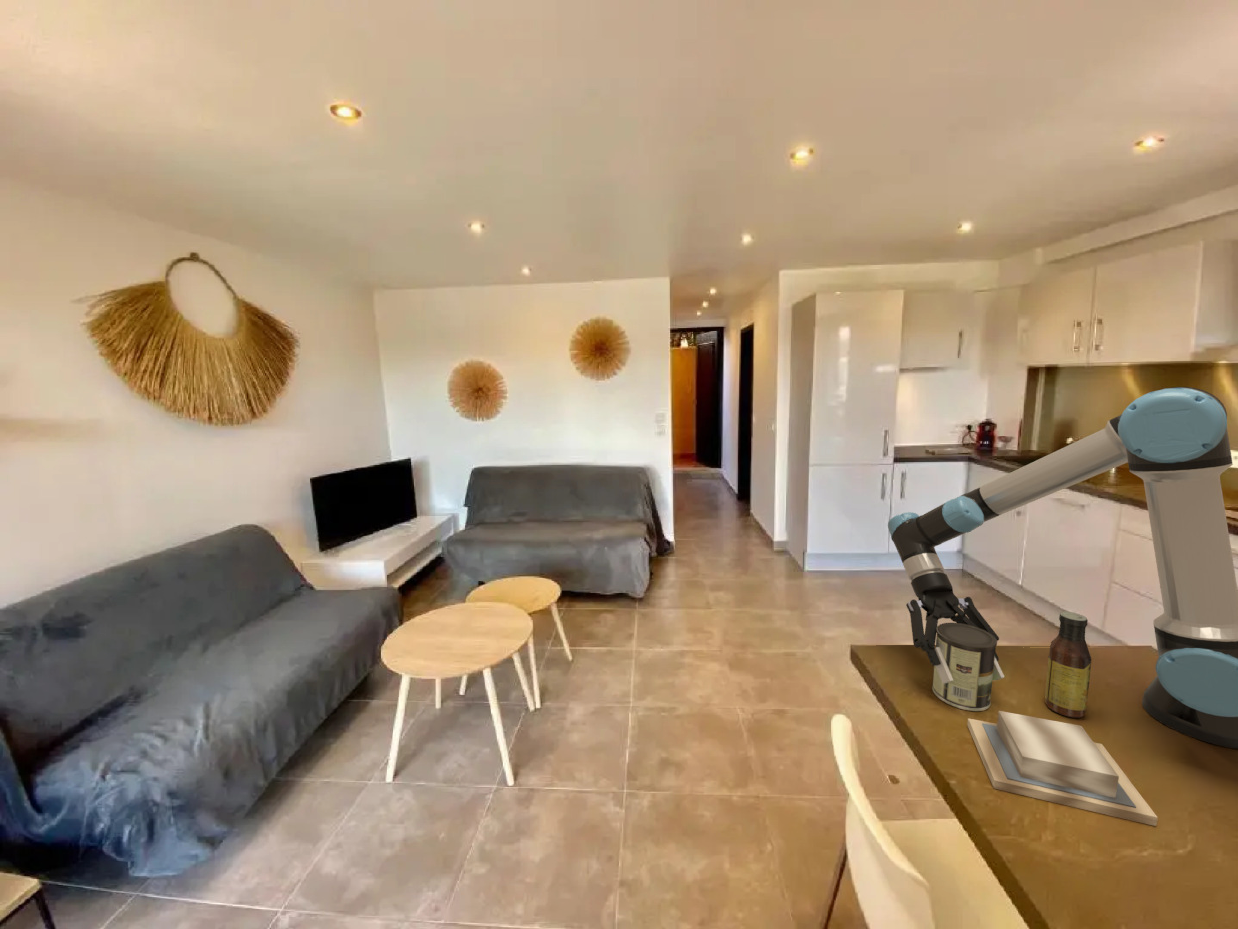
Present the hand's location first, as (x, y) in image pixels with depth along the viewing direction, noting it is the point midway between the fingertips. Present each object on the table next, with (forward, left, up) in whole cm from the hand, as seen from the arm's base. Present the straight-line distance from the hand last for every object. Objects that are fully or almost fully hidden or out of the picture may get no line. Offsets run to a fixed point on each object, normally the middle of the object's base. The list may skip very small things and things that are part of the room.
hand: (973, 680), depth 100 cm
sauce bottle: (-17, -5, -6) cm, 18 cm away
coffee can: (+1, -3, -6) cm, 6 cm away
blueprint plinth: (-8, +15, -5) cm, 18 cm away
